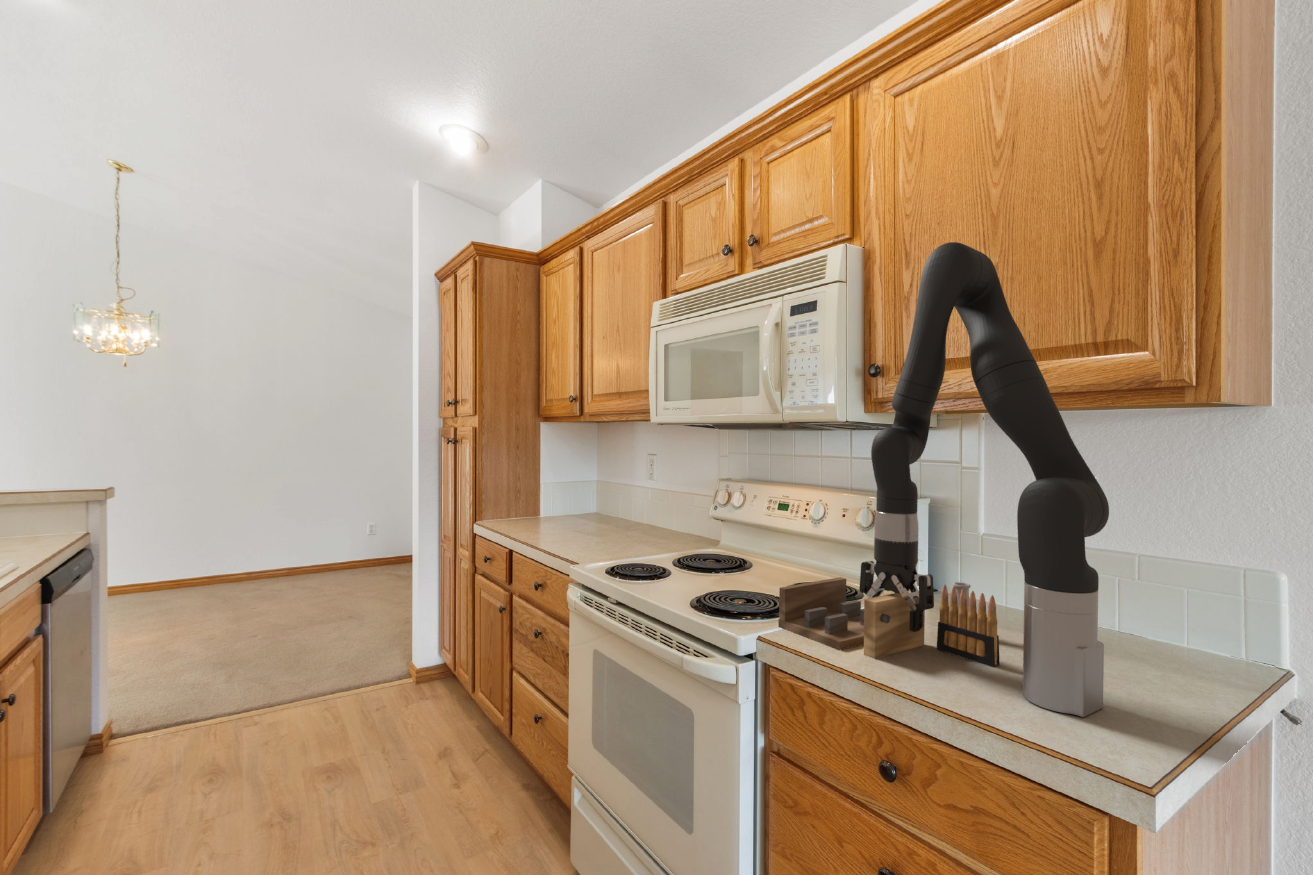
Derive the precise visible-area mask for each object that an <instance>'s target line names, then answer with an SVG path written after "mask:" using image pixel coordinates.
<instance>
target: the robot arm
mask: <svg viewBox="0 0 1313 875" xmlns="http://www.w3.org/2000/svg"><path fill="white" fill-rule="evenodd" d="M918 288H919V289H918V294H917V295H918V296H917V302H916V307H915V312H914V318H913V323H912V324H913V325H912V330H911V336H910V340H909V345H908V348H907V353H906V357H905V359H904V360H905V361H904V363H903V367H902V370H901V372H900V376H899V378H898V382H897V385H896V388H895V390H894V393H893V397H892V400H891V401H892V402H891V407H892V409H893V410H894V411H895V414H894V418H893V422H892V427H886V428H883V429H881V430H880V431H878V432H877V434H875V436H874V438H873V440H872V444H871V450H870V456H871V464H872V471H873V476H874V480H875V484H876V506H875V508H876V511H875V517H874V518H875V519H874V537H873V538H874V539H873V540H874V541H873V544H874V545H873V549H874V550H873V559H874V560H875V561H873V560H869V561H868V560H867V561H863V562H860V564H861V565H860V575H859V589H858V590H859V592H860V593H861V594H865V595H866V597H867V599H868V598H873V597H878V596H882V594H883V593H884V592H885V591H887V592H893V593H897V594H901V596H902V597H903V599H904V600H906V601H907V603H908V605H909V607H910V609H911V610H910V622H909V630H910V631H912V632H917V631H919V630H920V629H921V628H922V626H923V611H924V610H925V611H927V610H931V609H934V607H935V595H934V591H935V590H934V576H933V575H932V574H931V573H930V574H929V573H928V574H920V573H918V572H917V564H918V562H919V519H918V501H919V500H918V496H919V495H918V486H917V484H916V483H915V482H914V481H913V480H912V478H911V477H912V476H911V466H910V465H913V464H914V463H916V462H917V461H918V460H919V459H920V458H921V457H922V455H923V453H924V451H925V448H926V447H927V442H928V439H929V438H928V437H929V433H930V426H931V417H932V412H933V409H934V407H935V404H936V402H937V398H938V396H939V393H940V391H941V387H942V384H943V381H944V377H945V371H946V362H947V360H946V359H947V357H946V355H947V352H946V351H947V347H946V346H947V333H948V327H949V323H950V318H951V316H952V313H953V310H954V309H955V311H957V314H958V315H959V317H960V319H961V321H962V322H963V326H965V329H966V332H967V335H968V338H969V339H968V340H969V345H970V346H969V347H970V348H969V349H970V353H969V354H970V355H969V356H970V357H969V361H970V363H969V364H970V372H971V377H972V379H973V382H974V385H975V387H976V390H977V393H978V394H979V397H980V399H981V401H982V403H983V406H984V408H985V410H986V411H987V413H988V415H989V416H990V417H991V419H992V420H993V422H994V423H996V424H995V425H997V427H999V429H1001V431H1002V432H1003V433H1004V434H1005V435H1006V436H1007V438H1009V440H1011V441H1012V443H1014V444H1015V446H1016V447H1017V448H1018V449H1019V450H1020V452H1021V454H1023V456H1024V457H1025V459H1026V461H1027V462H1028V465H1029V466H1030V468H1031V471H1032V473H1033V475H1034V478H1035V480H1034V481H1033V482H1030V483H1029V484H1028V485H1026V487H1025V488H1024V489H1023V491H1022V492H1021V494H1020V496H1019V500H1018V505H1017V513H1016V514H1017V520H1016V522H1017V545H1018V546H1017V548H1018V550H1017V552H1018V558H1019V563H1020V565H1021V567H1022V570H1023V575H1024V579H1023V580H1024V581H1023V582H1024V585H1023V587H1024V589H1023V592H1024V593H1023V647H1022V648H1023V649H1022V650H1023V651H1022V656H1023V657H1022V660H1023V661H1022V668H1023V669H1022V695H1023V697H1024V698H1025V699H1026V700H1027V701H1028V702H1030V703H1032V704H1033V705H1036V706H1038V707H1041V708H1044V709H1046V710H1050V711H1054V712H1058V713H1061V714H1062V713H1063V714H1069V715H1074V716H1075V715H1076V716H1078V717H1081V718H1084V717H1087V716H1089V715H1091V714H1093V713H1095V712H1097V711H1099V710H1102V709H1103V708H1104V678H1105V677H1104V676H1105V675H1104V672H1105V671H1104V665H1105V661H1104V660H1105V655H1104V654H1105V644H1104V642H1102V641H1100V640H1098V639H1099V638H1098V635H1099V634H1098V632H1099V630H1098V629H1099V624H1098V623H1099V583H1100V582H1099V573H1098V571H1097V570H1096V569H1095V568H1094V567H1092V566H1091V565H1089V563H1088V561H1087V558H1086V557H1087V556H1086V538H1088V537H1092V536H1095V535H1097V534H1099V533H1100V532H1101V531H1102V530H1103V529H1104V528H1105V526H1106V525H1107V523H1108V520H1109V517H1110V506H1109V501H1108V498H1107V496H1106V494H1105V492H1104V490H1103V487H1102V486H1101V485H1100V483H1099V481H1098V480H1097V479H1096V477H1095V475H1094V474H1093V472H1092V470H1091V469H1090V467H1089V466H1088V465H1087V464H1088V463H1087V462H1086V461H1085V459H1084V457H1083V456H1082V454H1081V453H1080V450H1078V448H1077V446H1076V444H1075V443H1074V442H1075V441H1074V440H1073V438H1072V437H1071V435H1070V432H1069V430H1068V428H1067V426H1066V424H1065V421H1064V419H1063V417H1062V415H1061V412H1060V411H1059V408H1058V407H1057V404H1056V402H1055V399H1054V398H1053V396H1052V393H1051V391H1050V389H1049V387H1048V384H1047V382H1046V380H1045V378H1044V375H1043V373H1042V371H1041V369H1040V367H1039V365H1038V363H1037V361H1036V359H1035V357H1034V355H1033V353H1032V352H1031V350H1030V347H1029V346H1028V344H1027V342H1026V339H1025V337H1024V336H1023V333H1022V332H1021V330H1020V328H1019V326H1018V324H1017V323H1016V321H1015V320H1014V317H1013V315H1012V314H1011V311H1010V308H1009V305H1008V303H1007V300H1006V297H1005V294H1004V291H1003V287H1002V284H1001V281H1000V278H999V274H998V272H997V269H996V267H995V264H994V263H993V261H992V260H991V259H990V257H989V256H987V255H986V254H985V253H983V252H981V251H979V250H977V249H975V248H974V247H971V246H969V245H966V244H964V243H963V242H962V243H961V242H957V241H955V242H954V241H953V242H952V241H951V242H945V243H943V244H941V245H939V246H938V247H936V248H935V249H934V250H932V251H931V253H930V254H929V256H928V257H927V259H926V261H925V263H924V266H923V269H922V273H921V277H920V282H919V287H918ZM875 575H876V577H877V578H876V579H875V578H874V576H875ZM874 579H875V581H874ZM915 583H916V584H915ZM917 586H918V587H917ZM909 590H910V591H911V593H909V592H908V591H909Z"/></svg>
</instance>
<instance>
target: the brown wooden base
mask: <svg viewBox="0 0 1313 875" xmlns="http://www.w3.org/2000/svg"><path fill="white" fill-rule="evenodd" d="M778 594H779V599H778V600H779V602H778V603H779V607H778V608H779V610H778V612H779V613H778V614H779V616H778V617H779V618H778V625H777V626H778V628H781V629H784V630H786V629H787V631H790V632H792V633H794V634H797V635H800V636H802V637H805V638H807V639H810V640H811V641H814V642H818V643H820V644H823V645H825V646H828V647H831V648H833V649H835V650H838V651H841V650H845V649H849V648H852V647H853V648H854V647H856V646H859V645H864V608H862V601H861V600H858V599H855V600H851V601H847V578H845V577H842V576H840V577H834V578H833V577H832V578H829V579H822V580H816V581H811V582H804V583H798V584H792V585H786V586H782V587H781V586H780V587H779V593H778Z"/></svg>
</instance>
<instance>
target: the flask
mask: <svg viewBox="0 0 1313 875" xmlns="http://www.w3.org/2000/svg"><path fill="white" fill-rule="evenodd" d="M952 586H953V587H955V589H956V592H957V603H958V611H959V604H960V594H961V591H962V589H964V590H965V592H966V597H967V611H968V609H969V598H970V589H971V587H972V586H971V584H970V583H968V582H962V581H955V582H952Z"/></svg>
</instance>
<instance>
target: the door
mask: <svg viewBox="0 0 1313 875" xmlns="http://www.w3.org/2000/svg"><path fill="white" fill-rule="evenodd" d="M908 592H909V593H911V591H910V590H909V591H908ZM863 601H864V604H863V606H864V608H863V609H864V644H863V655H864V656H866V657H868V656H869V658H871V659H874V660H876V659H879V658H882V657H886V656H890V655H889V654H891V655H893V654H896V653H898V654H899V653H900V651H901V652H905V651H908V650H911V649H915V648H918V647H921V646H925V625H926V624H925V623H926V622H925V620H926V619H925V618H926V617H925V613H926V612H925V611H926V610H924V611H923V626H922V628H921V629H920V630H919V631H917V632H912V631H910V630H909V622H910V610H911V609H910V607H909V605H908V603H907V601H906V600H904V599H903V597H902V596H901V594H897V593H894V592H893V593H889V594H885V595H884V594H883V595H880V596H878V597H873V598H868V597H867V598H865V599H863ZM907 649H908V650H907Z"/></svg>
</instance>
